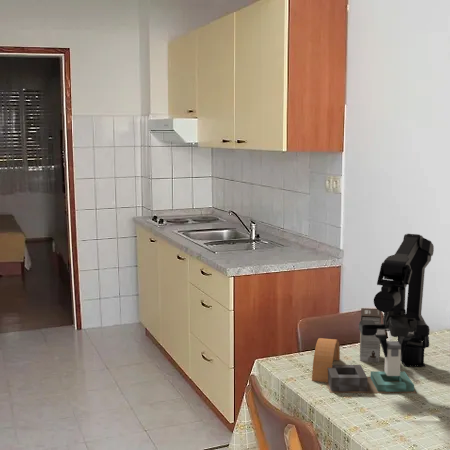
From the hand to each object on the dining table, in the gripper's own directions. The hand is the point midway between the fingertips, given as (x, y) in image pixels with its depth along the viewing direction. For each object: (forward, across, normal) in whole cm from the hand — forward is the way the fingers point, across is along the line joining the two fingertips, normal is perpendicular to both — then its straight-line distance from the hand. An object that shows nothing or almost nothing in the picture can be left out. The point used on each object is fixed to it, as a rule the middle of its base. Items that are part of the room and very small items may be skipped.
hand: (392, 356), depth 178 cm
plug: (+5, 0, 0) cm, 5 cm away
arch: (+9, -17, +12) cm, 23 cm away
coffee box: (+10, -2, +23) cm, 25 cm away
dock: (+9, -7, 0) cm, 11 cm away
